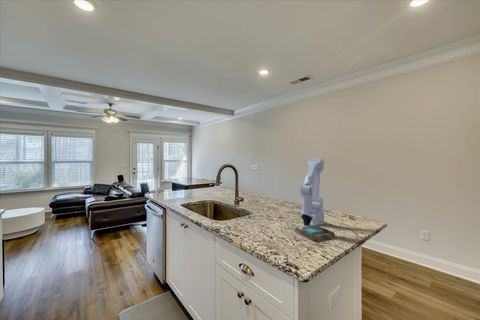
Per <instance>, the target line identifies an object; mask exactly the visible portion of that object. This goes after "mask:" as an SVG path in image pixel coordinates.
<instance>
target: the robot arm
mask: <svg viewBox="0 0 480 320" xmlns="http://www.w3.org/2000/svg"><path fill="white" fill-rule="evenodd" d="M306 165H307V167H308V173H307V175H306V176H305V178H304V181H303V184H302V185H301V186H300V193H301V195H300V196H301V208H299V209H297V214H301V216H300V217H301V219H302V221H303V226H307V225H313V224H314V225H317V226H323V225H325V224H326V223H325V214H324V211H323V208H324V200H323V198H322V197H321V196H320V180H321V173H322V172H324V167H325V159H324V158H323V157H321V158H320V157H319V158H313V157H312V158H311V157H309V158H308V159H307V162H306Z"/></svg>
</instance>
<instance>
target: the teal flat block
mask: <svg viewBox="0 0 480 320" xmlns="http://www.w3.org/2000/svg"><path fill="white" fill-rule="evenodd" d="M301 230H303V231H305V232H307V233H309V234H311V235H313V236H315V235H320V234H324V230H322V229H319V228H317V227H315V225H314V224H313V225H311V224H310V225H307V226H305V225H302V226H301Z"/></svg>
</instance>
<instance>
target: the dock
mask: <svg viewBox="0 0 480 320" xmlns="http://www.w3.org/2000/svg"><path fill="white" fill-rule="evenodd" d="M315 227H317V228H319V229H322V230H324V234H320V235H315V236H313V235H311V234H309V233H307V232H305V231H303V230H302V228H298V227H295V229H294V232H295V233H296V234H298V235H301V236H302V237H304V238H306V239H308V240H310V241H312V242H319V241H322V240H323V241H324V240H327V239H332V238H335V235H336V234H335V232H334V231H332V230H329V229H326V228H325V227H321V226H320V225H315Z"/></svg>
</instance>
